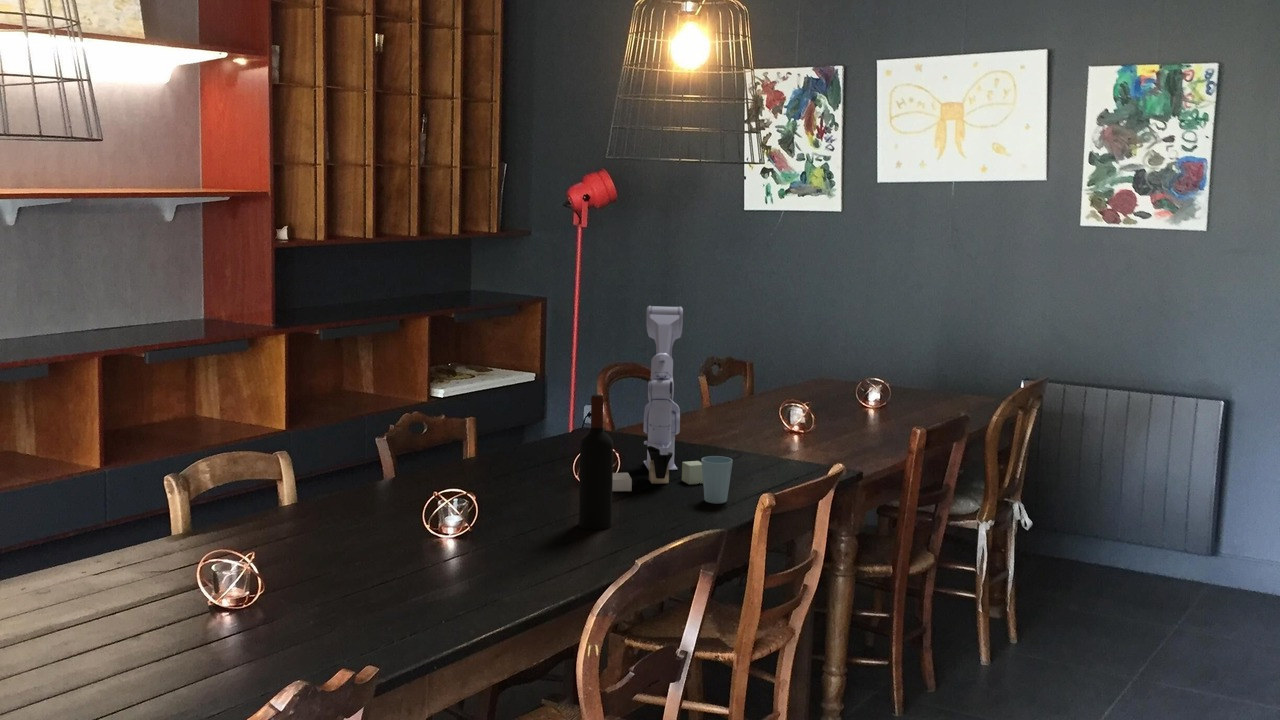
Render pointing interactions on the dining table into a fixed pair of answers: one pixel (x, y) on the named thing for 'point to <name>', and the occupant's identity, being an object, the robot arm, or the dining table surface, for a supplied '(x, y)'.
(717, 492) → the cup
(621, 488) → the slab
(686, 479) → the sage block
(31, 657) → the dining table surface
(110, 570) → the dining table surface
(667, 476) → the oak block
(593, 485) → the wine bottle
